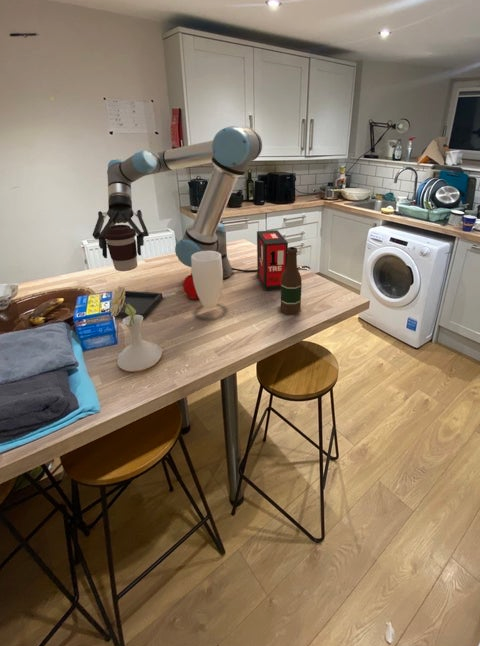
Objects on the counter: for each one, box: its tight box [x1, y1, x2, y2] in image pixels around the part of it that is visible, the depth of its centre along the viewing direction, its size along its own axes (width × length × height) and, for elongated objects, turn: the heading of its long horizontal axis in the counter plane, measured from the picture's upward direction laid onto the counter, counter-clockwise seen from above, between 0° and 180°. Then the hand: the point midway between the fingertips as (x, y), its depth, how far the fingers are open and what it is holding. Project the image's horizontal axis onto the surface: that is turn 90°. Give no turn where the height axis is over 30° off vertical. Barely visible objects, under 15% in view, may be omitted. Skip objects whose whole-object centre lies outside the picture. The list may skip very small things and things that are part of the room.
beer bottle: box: [280, 246, 303, 316], centre depth 118 cm, size 8×8×24 cm
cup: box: [191, 251, 224, 309], centre depth 114 cm, size 10×10×22 cm
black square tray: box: [114, 290, 164, 321], centre depth 119 cm, size 15×15×2 cm
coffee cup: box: [103, 224, 138, 272], centre depth 116 cm, size 10×10×15 cm
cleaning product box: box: [256, 229, 289, 291], centre depth 140 cm, size 16×9×20 cm, turn 18°
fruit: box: [182, 272, 199, 300], centre depth 127 cm, size 9×9×10 cm
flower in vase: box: [109, 285, 163, 372], centre depth 88 cm, size 13×11×25 cm
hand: (122, 255), depth 114 cm, fingers closed on coffee cup, 10 cm apart
